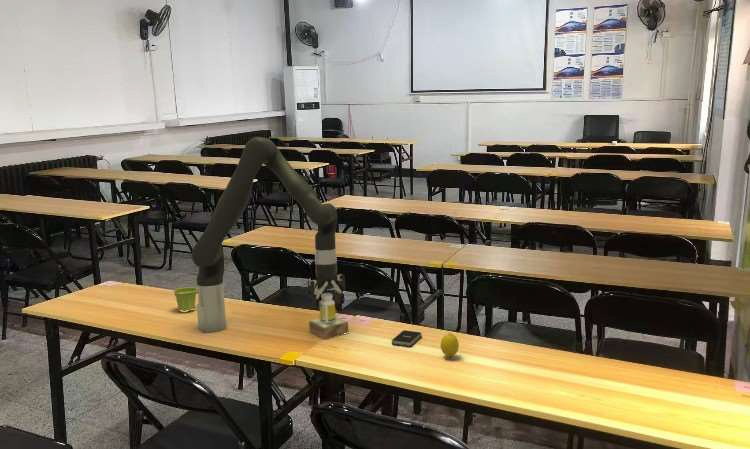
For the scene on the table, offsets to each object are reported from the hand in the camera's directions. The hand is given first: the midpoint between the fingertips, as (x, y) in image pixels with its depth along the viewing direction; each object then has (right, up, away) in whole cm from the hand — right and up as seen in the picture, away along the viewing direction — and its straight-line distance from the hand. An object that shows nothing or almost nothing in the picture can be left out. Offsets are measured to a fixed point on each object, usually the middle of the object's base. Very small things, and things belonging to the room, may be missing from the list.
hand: (327, 305), depth 211 cm
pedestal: (0, -10, +2) cm, 10 cm away
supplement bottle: (0, -6, +1) cm, 6 cm away
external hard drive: (+28, -11, -8) cm, 31 cm away
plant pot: (-60, -6, +32) cm, 68 cm away
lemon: (+40, -13, -23) cm, 48 cm away
